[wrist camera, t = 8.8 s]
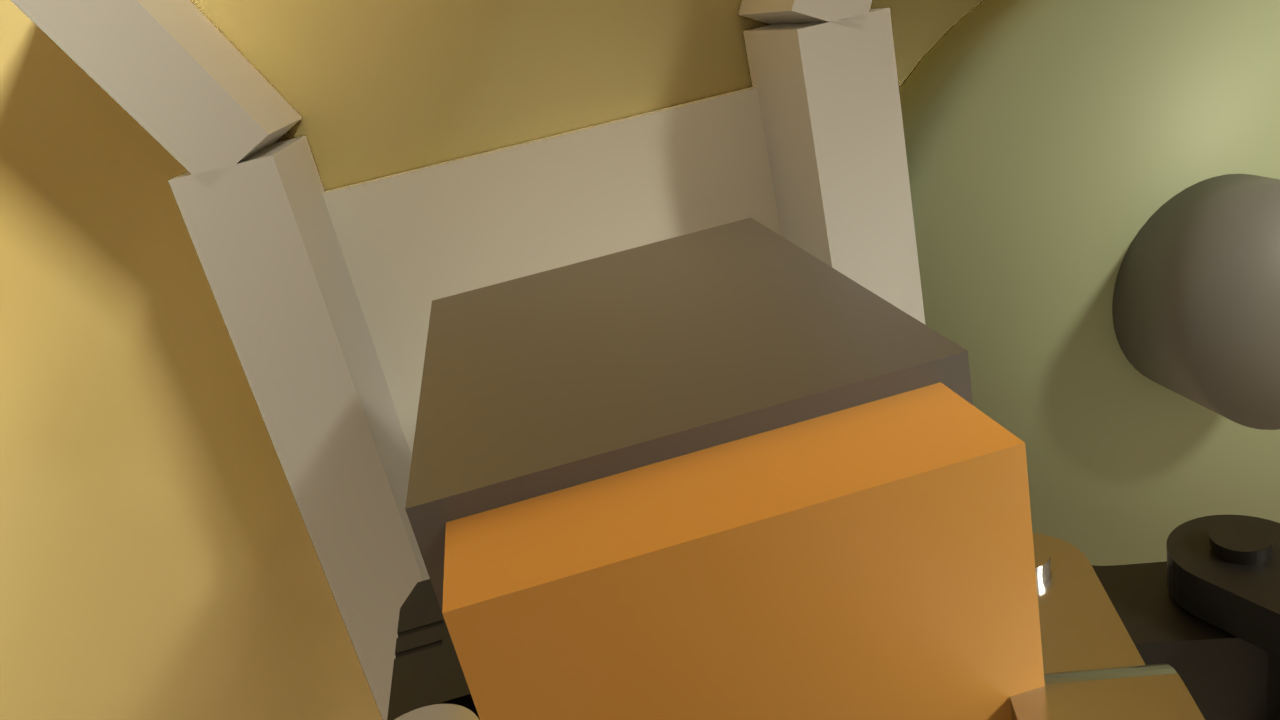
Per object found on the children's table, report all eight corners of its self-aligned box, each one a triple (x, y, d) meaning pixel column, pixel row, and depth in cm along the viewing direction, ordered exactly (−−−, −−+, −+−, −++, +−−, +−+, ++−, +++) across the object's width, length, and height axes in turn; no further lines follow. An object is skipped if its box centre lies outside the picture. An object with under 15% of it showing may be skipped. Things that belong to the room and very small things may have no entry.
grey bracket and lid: (43, -67, 15) (-154, -115, 10) (1394, -356, 17) (1750, -506, 12) (370, 735, 20) (341, 940, 16) (1345, 445, 23) (1574, 551, 18)
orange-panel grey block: (432, 300, 13) (394, 597, 6) (750, 217, 13) (1057, 406, 6) (574, 756, 15) (659, 1311, 9) (833, 675, 16) (1106, 1146, 9)
